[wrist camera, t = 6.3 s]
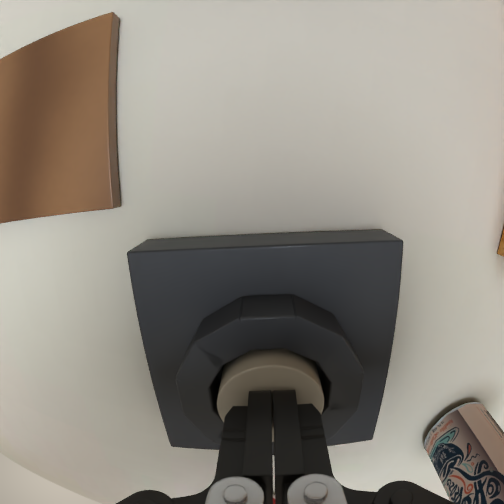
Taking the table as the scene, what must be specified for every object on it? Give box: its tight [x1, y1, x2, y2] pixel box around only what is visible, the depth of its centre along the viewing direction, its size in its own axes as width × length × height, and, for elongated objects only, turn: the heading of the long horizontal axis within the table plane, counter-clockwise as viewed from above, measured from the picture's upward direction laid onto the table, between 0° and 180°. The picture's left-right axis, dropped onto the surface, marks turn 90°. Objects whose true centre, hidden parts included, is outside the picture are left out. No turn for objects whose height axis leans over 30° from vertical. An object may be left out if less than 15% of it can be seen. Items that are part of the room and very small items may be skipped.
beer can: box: [424, 402, 504, 504], centre depth 10 cm, size 5×5×12 cm
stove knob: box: [217, 349, 324, 442], centre depth 11 cm, size 4×4×2 cm
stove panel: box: [127, 230, 403, 455], centre depth 12 cm, size 10×10×4 cm
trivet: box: [0, 12, 121, 223], centre depth 12 cm, size 10×9×1 cm
